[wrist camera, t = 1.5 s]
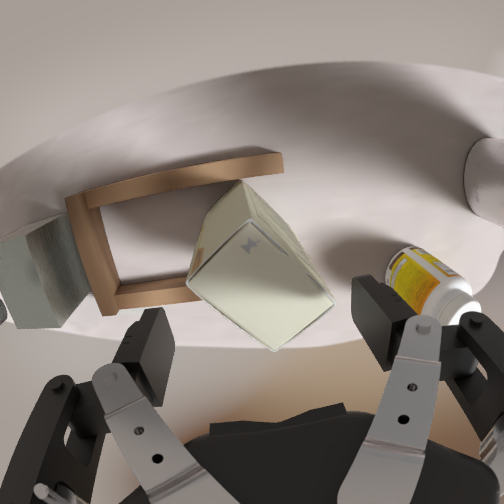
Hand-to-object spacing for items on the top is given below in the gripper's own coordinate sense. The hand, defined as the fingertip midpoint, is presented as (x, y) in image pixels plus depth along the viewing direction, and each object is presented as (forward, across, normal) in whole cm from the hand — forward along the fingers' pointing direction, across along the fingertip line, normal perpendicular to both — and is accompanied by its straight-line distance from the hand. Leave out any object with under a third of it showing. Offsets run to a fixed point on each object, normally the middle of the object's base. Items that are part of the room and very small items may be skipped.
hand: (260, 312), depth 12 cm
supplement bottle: (+14, -15, +7) cm, 22 cm away
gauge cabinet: (+14, +19, 0) cm, 24 cm away
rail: (+14, +5, 0) cm, 14 cm away
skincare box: (+14, 0, 0) cm, 14 cm away
